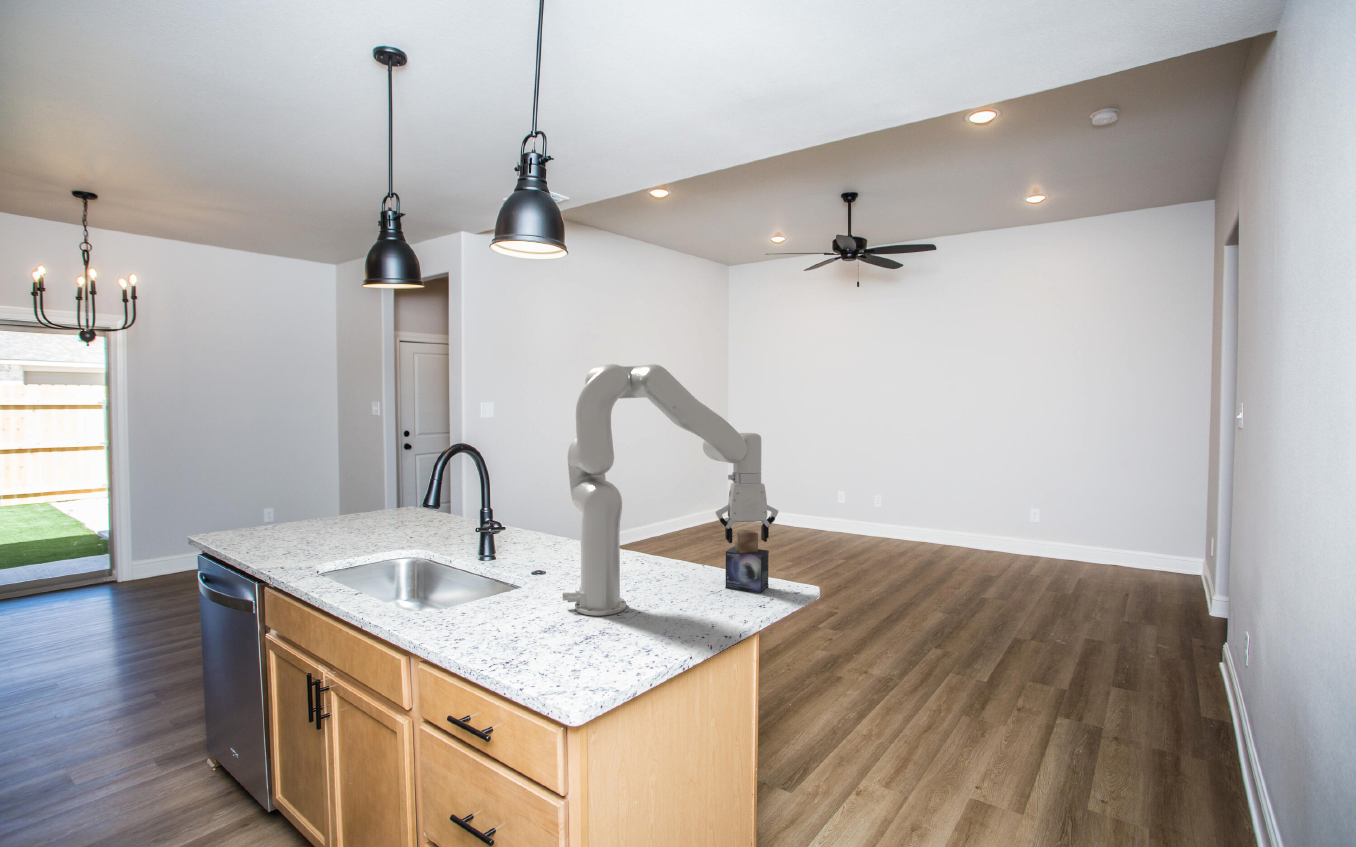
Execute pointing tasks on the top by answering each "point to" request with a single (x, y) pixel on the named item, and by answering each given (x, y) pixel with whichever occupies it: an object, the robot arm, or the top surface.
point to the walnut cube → (746, 541)
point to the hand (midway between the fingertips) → (746, 541)
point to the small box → (747, 570)
